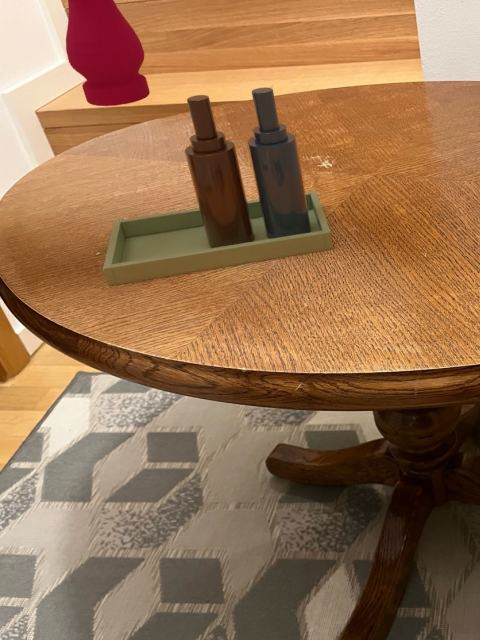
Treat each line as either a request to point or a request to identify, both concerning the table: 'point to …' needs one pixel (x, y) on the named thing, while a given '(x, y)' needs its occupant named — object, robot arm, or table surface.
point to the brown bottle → (217, 179)
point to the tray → (200, 244)
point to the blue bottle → (277, 171)
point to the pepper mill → (105, 53)
